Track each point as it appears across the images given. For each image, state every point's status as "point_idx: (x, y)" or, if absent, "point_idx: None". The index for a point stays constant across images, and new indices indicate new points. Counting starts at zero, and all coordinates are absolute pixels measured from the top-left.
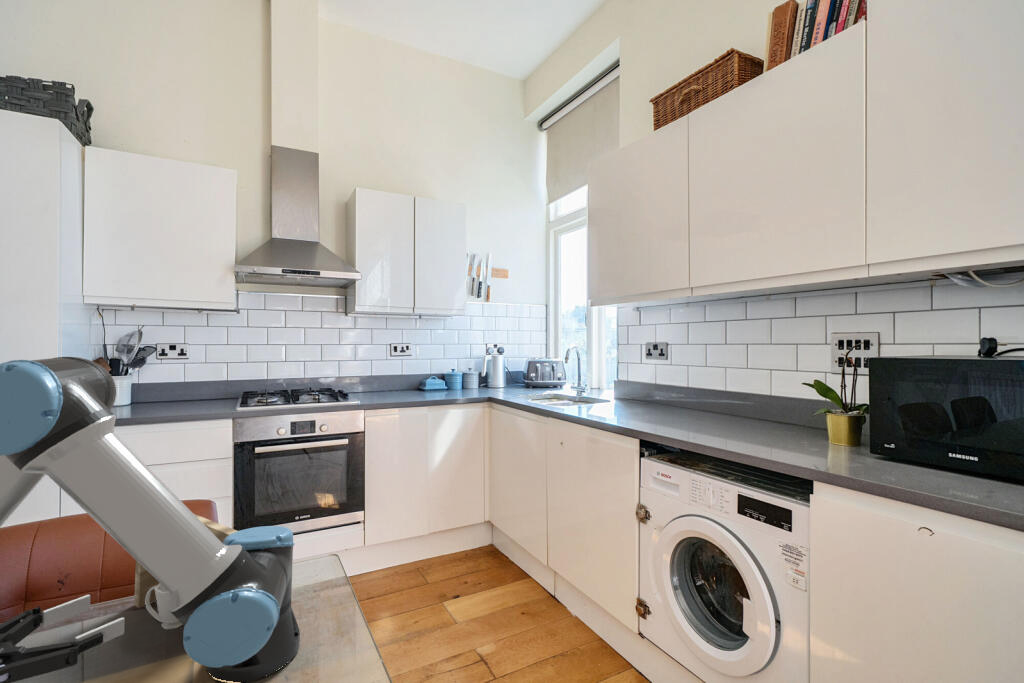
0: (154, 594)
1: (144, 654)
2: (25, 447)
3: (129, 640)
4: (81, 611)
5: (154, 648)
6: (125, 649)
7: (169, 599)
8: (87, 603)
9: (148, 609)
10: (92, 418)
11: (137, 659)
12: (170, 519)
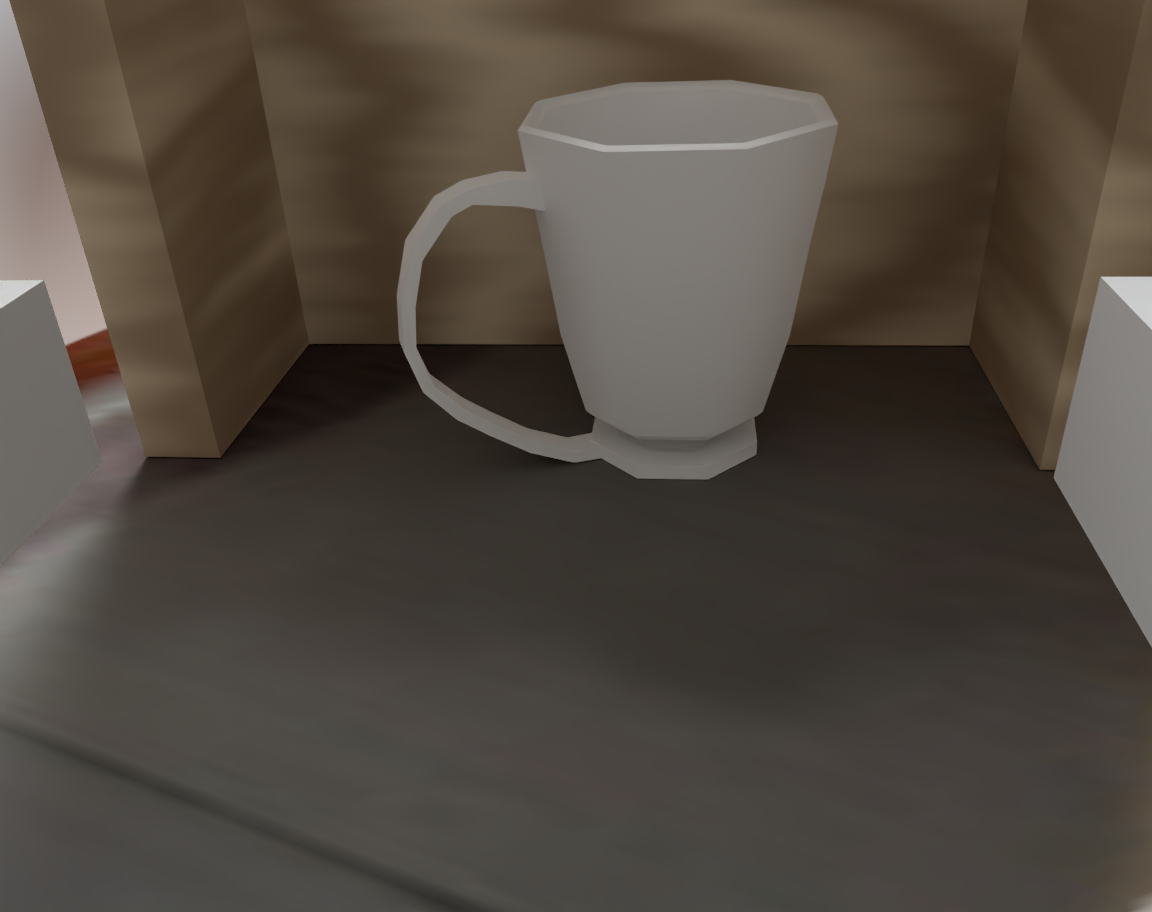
0: (247, 352)
1: (972, 649)
2: None
3: (607, 621)
4: (45, 495)
5: (935, 589)
6: (731, 683)
7: (779, 213)
8: (58, 388)
9: (446, 399)
10: None
11: (1017, 700)
12: None
